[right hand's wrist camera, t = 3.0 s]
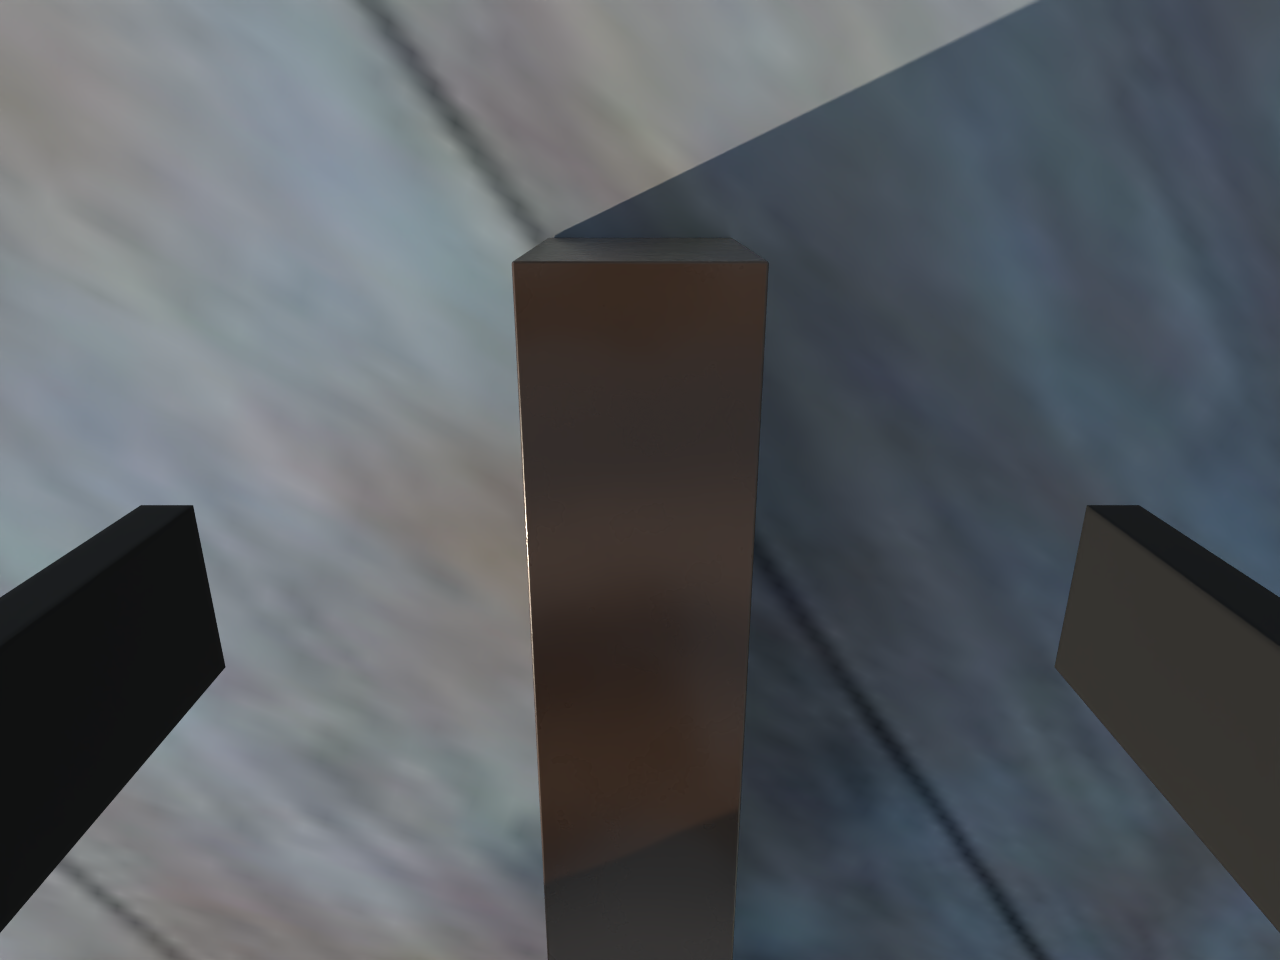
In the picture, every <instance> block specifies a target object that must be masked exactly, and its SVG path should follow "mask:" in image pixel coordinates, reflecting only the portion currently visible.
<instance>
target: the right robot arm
mask: <svg viewBox="0 0 1280 960" xmlns="http://www.w3.org/2000/svg"><path fill="white" fill-rule="evenodd" d="M224 668H225V663H224V658H223V653H222V648H221V643H220V638H219V633H218V628H217V623H216V618H215V613H214V608H213V603H212V598H211V593H210V588H209V583H208V578H207V573H206V568H205V563H204V558H203V553H202V548H201V543H200V538H199V533H198V528H197V523H196V518H195V513H194V508H193V505H141V506H139V507H138V508H136V509H135V510H133V511H131V512H130V513H128V514H127V515H125V516H124V517H122V518H121V519H119V520H118V521H116V522H115V523H113V524H112V525H110V526H109V527H107V528H106V529H104V530H103V531H101V532H99V533H98V534H96V535H95V536H93V537H92V538H90V539H89V540H87V541H86V542H84V543H83V544H81V545H80V546H78V547H77V548H75V549H74V550H72V551H70V552H69V553H67V554H66V555H64V556H63V557H61V558H60V559H58V560H57V561H55V562H54V563H52V564H51V565H49V566H48V567H46V568H45V569H43V570H42V571H40V572H38V573H37V574H35V575H34V576H32V577H31V578H29V579H28V580H26V581H25V582H23V583H22V584H20V585H19V586H17V587H16V588H14V589H13V590H11V591H9V592H8V593H6V594H5V595H3V596H2V597H0V932H1V931H2V930H3V929H4V928H5V926H6V925H7V924H8V923H9V922H10V921H11V919H12V918H13V917H14V916H15V915H16V914H17V912H18V911H19V910H20V909H21V908H22V906H23V905H24V904H25V903H26V902H27V901H28V899H29V898H30V897H31V896H32V895H33V893H34V892H35V891H36V890H37V889H38V888H39V886H40V885H41V884H42V883H43V882H44V880H45V879H46V878H47V877H48V876H49V875H50V873H51V872H52V871H53V870H54V869H55V868H56V866H57V865H58V864H59V863H60V862H61V860H62V859H63V858H64V857H65V856H66V855H67V853H68V852H69V851H70V850H71V849H72V847H73V846H74V845H75V844H76V843H77V842H78V840H79V839H80V838H81V837H82V836H83V834H84V833H85V832H86V831H87V830H88V829H89V827H90V826H91V825H92V824H93V823H94V822H95V820H96V819H97V818H98V817H99V816H100V814H101V813H102V812H103V811H104V810H105V809H106V807H107V806H108V805H109V804H110V803H111V801H112V800H113V799H114V798H115V797H116V796H117V794H118V793H119V792H120V791H121V790H122V788H123V787H124V786H125V785H126V784H127V783H128V781H129V780H130V779H131V778H132V777H133V776H134V774H135V773H136V772H137V771H138V770H139V768H140V767H141V766H142V765H143V764H144V763H145V761H146V760H147V759H148V758H149V757H150V755H151V754H152V753H153V752H154V751H155V750H156V748H157V747H158V746H159V745H160V744H161V742H162V741H163V740H164V739H165V738H166V737H167V735H168V734H169V733H170V732H171V731H172V730H173V728H174V727H175V726H176V725H177V724H178V722H179V721H180V720H181V719H182V718H183V717H184V715H185V714H186V713H187V712H188V711H189V709H190V708H191V707H192V706H193V705H194V704H195V702H196V701H197V700H198V699H199V698H200V696H201V695H202V694H203V693H204V692H205V691H206V689H207V688H208V687H209V686H210V685H211V683H212V682H213V681H214V680H215V679H216V678H217V676H218V675H219V674H220V673H221V672H222V671H223V669H224ZM1055 668H1056V669H1057V671H1058V672H1059V673H1060V674H1061V675H1062V676H1063V678H1064V679H1065V680H1066V681H1067V682H1068V683H1069V685H1070V686H1071V687H1072V688H1073V689H1074V691H1075V692H1076V693H1077V694H1078V695H1079V696H1080V698H1081V699H1082V700H1083V701H1084V702H1085V704H1086V705H1087V706H1088V707H1089V708H1090V709H1091V711H1092V712H1093V713H1094V714H1095V715H1096V717H1097V718H1098V719H1099V720H1100V721H1101V722H1102V724H1103V725H1104V726H1105V727H1106V728H1107V730H1108V731H1109V732H1110V733H1111V734H1112V735H1113V737H1114V738H1115V739H1116V740H1117V741H1118V742H1119V744H1120V745H1121V746H1122V747H1123V748H1124V750H1125V751H1126V752H1127V753H1128V754H1129V755H1130V757H1131V758H1132V759H1133V760H1134V761H1135V763H1136V764H1137V765H1138V766H1139V767H1140V768H1141V770H1142V771H1143V772H1144V773H1145V774H1146V776H1147V777H1148V778H1149V779H1150V780H1151V781H1152V783H1153V784H1154V785H1155V786H1156V787H1157V788H1158V790H1159V791H1160V792H1161V793H1162V794H1163V796H1164V797H1165V798H1166V799H1167V800H1168V801H1169V803H1170V804H1171V805H1172V806H1173V807H1174V809H1175V810H1176V811H1177V812H1178V813H1179V814H1180V816H1181V817H1182V818H1183V819H1184V820H1185V822H1186V823H1187V824H1188V825H1189V826H1190V827H1191V829H1192V830H1193V831H1194V832H1195V833H1196V834H1197V836H1198V837H1199V838H1200V839H1201V840H1202V842H1203V843H1204V844H1205V845H1206V846H1207V847H1208V849H1209V850H1210V851H1211V852H1212V853H1213V855H1214V856H1215V857H1216V858H1217V859H1218V860H1219V862H1220V863H1221V864H1222V865H1223V866H1224V868H1225V869H1226V870H1227V871H1228V872H1229V873H1230V875H1231V876H1232V877H1233V878H1234V879H1235V880H1236V882H1237V883H1238V884H1239V885H1240V886H1241V888H1242V889H1243V890H1244V891H1245V892H1246V893H1247V895H1248V896H1249V897H1250V898H1251V899H1252V901H1253V902H1254V903H1255V904H1256V905H1257V906H1258V908H1259V909H1260V910H1261V911H1262V912H1263V914H1264V915H1265V916H1266V917H1267V918H1268V919H1269V921H1270V922H1271V923H1272V924H1273V925H1274V926H1275V928H1276V929H1277V930H1278V931H1279V932H1280V597H1278V596H1277V595H1275V594H1274V593H1272V592H1271V591H1269V590H1267V589H1266V588H1264V587H1263V586H1261V585H1260V584H1258V583H1257V582H1255V581H1254V580H1252V579H1251V578H1249V577H1248V576H1246V575H1245V574H1243V573H1242V572H1240V571H1238V570H1237V569H1235V568H1234V567H1232V566H1231V565H1229V564H1228V563H1226V562H1225V561H1223V560H1222V559H1220V558H1219V557H1217V556H1216V555H1214V554H1213V553H1211V552H1210V551H1208V550H1206V549H1205V548H1203V547H1202V546H1200V545H1199V544H1197V543H1196V542H1194V541H1193V540H1191V539H1190V538H1188V537H1187V536H1185V535H1184V534H1182V533H1181V532H1179V531H1177V530H1176V529H1174V528H1173V527H1171V526H1170V525H1168V524H1167V523H1165V522H1164V521H1162V520H1161V519H1159V518H1158V517H1156V516H1155V515H1153V514H1152V513H1150V512H1149V511H1147V510H1145V509H1144V508H1142V507H1141V506H1139V505H1087V508H1086V513H1085V518H1084V523H1083V528H1082V533H1081V538H1080V543H1079V548H1078V553H1077V558H1076V563H1075V568H1074V573H1073V578H1072V583H1071V588H1070V593H1069V598H1068V603H1067V608H1066V613H1065V618H1064V623H1063V628H1062V633H1061V638H1060V643H1059V648H1058V653H1057V658H1056V663H1055Z"/></svg>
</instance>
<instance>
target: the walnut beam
mask: <svg viewBox="0 0 1280 960" xmlns="http://www.w3.org/2000/svg"><path fill="white" fill-rule="evenodd" d="M768 268H769V263H768V261H766V260H764V259H763V258H761V257H760V256H758V255H757V254H755V253H754V252H752V251H751V250H749V249H748V248H746V247H745V246H743V245H742V244H740V243H738V242H737V241H735V240H734V239H732V238H548V239H546V240H545V241H543V242H542V243H540V244H539V245H537V246H536V247H534V248H533V249H531V250H530V251H528V252H527V253H525V254H524V255H522V256H521V257H519V258H518V259H516V260H515V261H513V262H512V277H513V296H514V316H515V335H516V354H517V374H518V393H519V412H520V432H521V451H522V470H523V489H524V509H525V528H526V547H527V567H528V586H529V605H530V625H531V644H532V663H533V683H534V702H535V721H536V740H537V760H538V779H539V798H540V818H541V837H542V856H543V876H544V895H545V914H546V933H547V953H548V960H733V941H734V922H735V902H736V883H737V864H738V845H739V826H740V806H741V787H742V768H743V749H744V729H745V710H746V691H747V672H748V653H749V633H750V614H751V595H752V576H753V556H754V537H755V518H756V499H757V480H758V460H759V441H760V422H761V403H762V383H763V364H764V345H765V326H766V306H767V287H768Z"/></svg>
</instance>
